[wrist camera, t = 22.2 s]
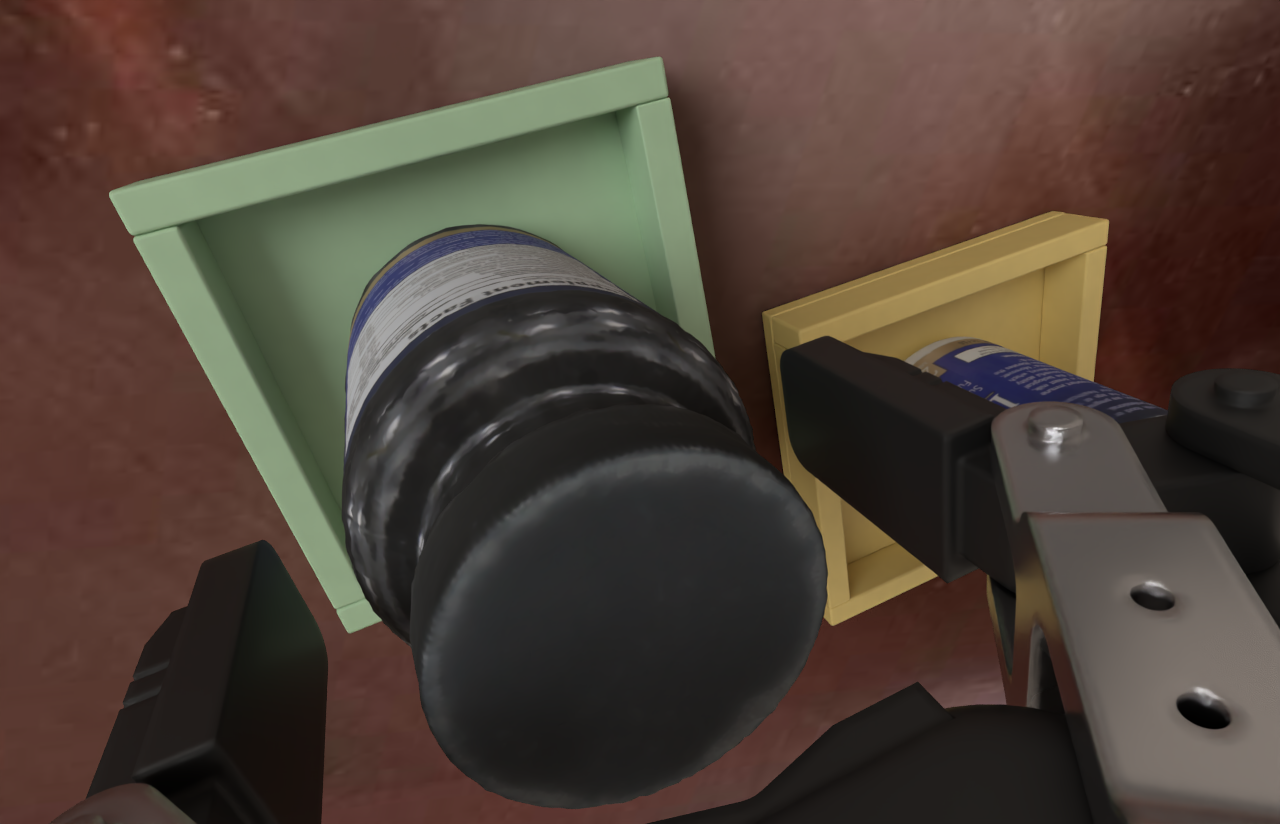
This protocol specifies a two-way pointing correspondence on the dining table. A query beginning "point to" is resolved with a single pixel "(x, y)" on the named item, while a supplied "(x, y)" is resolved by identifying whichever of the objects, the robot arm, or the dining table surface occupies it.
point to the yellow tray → (923, 314)
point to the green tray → (378, 230)
